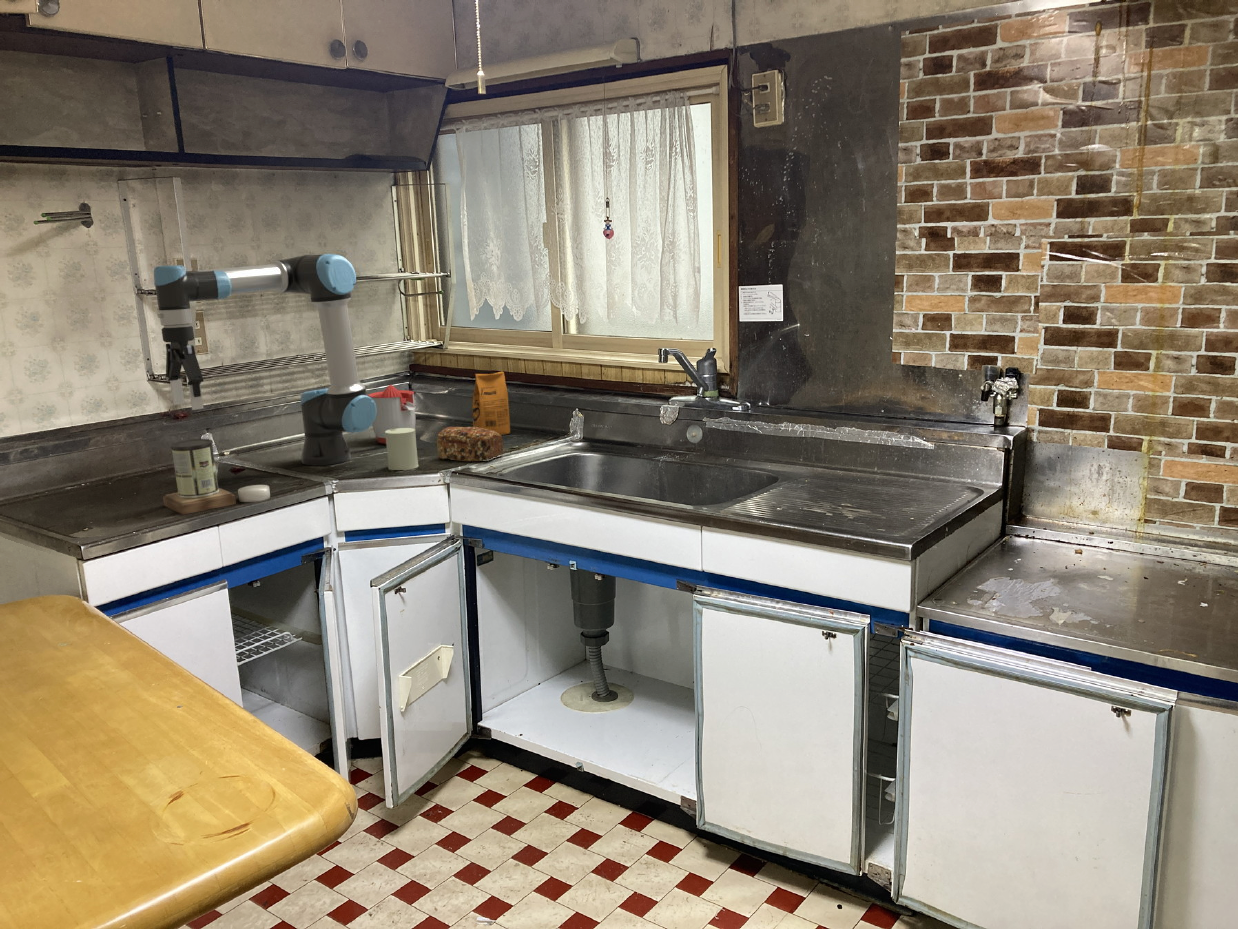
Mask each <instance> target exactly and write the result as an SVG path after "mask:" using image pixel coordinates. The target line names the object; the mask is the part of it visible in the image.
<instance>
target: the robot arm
mask: <svg viewBox="0 0 1238 929" xmlns="http://www.w3.org/2000/svg"><path fill="white" fill-rule="evenodd" d="M153 281H154V285H153V286H154V288H155V294H156V299H157V308H158V313H159V314H157V318H158V319H159V320H160V325H161V327H162V326H163V327H162V328H161V336H162V341H163V342H164V343H166V344H165V349H166V351H165V352H166V354H165V355H166V357H165V360H166V361H165V377H166V378H168V380H169V383H170V391H171V397H172V402H173V403H172V404H173V406H175V405H177V406H178V405H183V404H184V405H185V396H184V389H183V383H182V381H183V380H182V379H183V376H182V374H181V371H182V368H183V370H184V372H185V375H186V378H187V379H188V382H187V386H188V391H189V398H190V406H191V410H192V411H195V410H202V409H204V401H203V394H202V388H201V384H202V383H203V382H204V378H203V375H202V370H201V368H200V364H199V361H198V358H197V355H196V350H195V349H196V348H195V346H194V345H193V344H192V345H189V342H192V341H194V340H195V333H194V332H195V331H194V327H193V326H192V325H191V324H193V318H192V317H193V315H192V310H191V306H190V304H191V302H199V301H219V300H222V299H224V300H225V299H227V298H229V296H231V295H241V294H251V293H261V292H271V291H274V293H277V294H285V293H290V294H291V293H293V294H305V295H310V296H309V297H310V300H311V301H310V302H311V303H312V304H313V305H314V306H315V307H316V308H317V310H318V317H319V323H320V329H321V335H322V340H323V341H322V343H323V346H324V347H323V348H324V353H325V358H326V359H325V360H326V366H327V371H328V378H329V383H330V386H329V387H328V388H327V387H326V388H321V389H314V390H308V391H304V392H302V393H301V395H300V408H301V413H302V414H301V415H302V424H303V432H304V442H303V445H302V451H301V456H300V457H301V458H300V459H301V464H303V465H306V466H307V465H308V466H326V465H335V464H341V463H343V462H347V461H349V460H351V459H352V458H351V451H350V449H349V446H348V444H347V441H346V439H345V437H344V435H343V432H345V433H349V434H351V433H352V434H354V433H363V432H366V431H367V430H368V429H370V428H371V427H372V423H373V422H374V420H375V418H376V412H377V410H376V404H375V402H374V400H372V399H371V398H370V397H369V396H368V394H367V388H366V386H365V385H364V384H363V383H362V382H360V378H359V372H358V367H357V366H358V365H357V358H356V353H355V346H354V341H353V340H354V339H353V335H352V334H353V333H352V328H351V322H350V314H349V309H348V303H349V302H350V301H351V299H352V294H351V293H352V291H353V290H354V288H355V285H356V284H357V283H356V282H357V274H356V271H355V268H354V265H353V264H352V263H351V262H350V261H349V260H348V259H347V258H346V257H344V256H342V255H339V254H332V253H325V254H324V253H322V254H305V255H298V256H295V257H291V258H290V257H289V258H285V259H277V260H272V261H270V263H269V264H259V265H258V264H257V265H248V266H247V265H246V266H236V267H235V266H234V267H223V268H210V269H200V270H199V269H197V270H189V271H188V270H186V269H185V266H184V265H182V264H179V265H178V264H176V265H157V266H156V267H154V269H153Z"/></svg>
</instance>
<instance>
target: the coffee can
mask: <svg viewBox="0 0 1238 929" xmlns="http://www.w3.org/2000/svg"><path fill="white" fill-rule="evenodd" d="M213 444H214V442H213V440H212V439H210V438H209V439H208V438H195V439H187V440H180V441H177V442H174V443H172V444H170V449H171V454H172V459H173V466H174V473H175V480H176V486H177V492H178V496H179V497H180V498H188V499H189V498H201V497H207V496H211V495H214V494H216V493H218V492H219V489H218V488H219V483H218V475H217V467H216V463H215V462H216V460H215V459H216V458H215V454H214V447H213V446H214V445H213Z"/></svg>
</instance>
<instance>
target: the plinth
mask: <svg viewBox="0 0 1238 929" xmlns="http://www.w3.org/2000/svg"><path fill="white" fill-rule="evenodd" d="M218 489H219V492H218V493H216V494H214V495H211V496H207V497H201V498H189V499H188V498H180V497H179V496H178V491H177V492H172V493H168V494H165V496H163V497H162V500H163V506H164V507H166V508H169V509H170V510H172V511H174V512H176V513H178V514H180V515H182V516H183V515H189V514H193V513H197V512H198V513H199V512H202V511H208V510H213V509H217V508H223V507H228V506H232V505H237V501H236V495H235V494H233V493H232V492H230V491H229V490H225V489H223V488H220V487H218Z"/></svg>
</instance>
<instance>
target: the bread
mask: <svg viewBox="0 0 1238 929" xmlns="http://www.w3.org/2000/svg"><path fill="white" fill-rule="evenodd" d="M503 441H504V440H503V436H502V435H500V434H499V433H497V432H495V431H494V430H488V429H483V428H478V427H473V426H447V427H446V428H445V427H444V428H443V429H441V430H440V431H439V432H438V434H437V437H436V447H437V448H436V449H437V453H438V456H439V458H440V459H442V460H447V459H448V460H450V461H451V460H452V461H459V462H471V461H472V462H480V461H483V460H487V459H491V458H493V457H497V456H498V455H501V454H502V455H503V454H504V453H503V452H504V446H503V445H504V444H503Z"/></svg>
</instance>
